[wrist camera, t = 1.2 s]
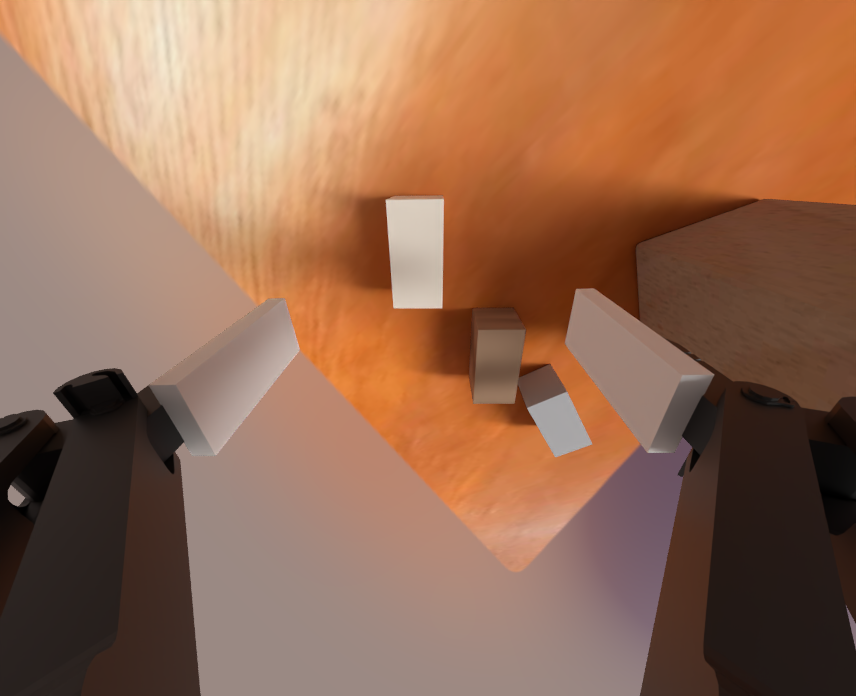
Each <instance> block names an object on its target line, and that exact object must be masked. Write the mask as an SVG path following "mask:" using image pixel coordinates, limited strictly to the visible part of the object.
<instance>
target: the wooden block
mask: <svg viewBox="0 0 856 696" xmlns="http://www.w3.org/2000/svg"><path fill="white" fill-rule="evenodd" d="M636 262H637V279H638V296H639V313H640V322H642V323H643V324H644V325H646V326H647V327H649V328H650V329H651V330H653V331H654V332H656V333H657V334H658V335H660V336H661V337H664V338H666V339H669V340H671V341H673V342H676V343H678V344H680V345H681V346H683V347H684V348H686V349H687V350H689V351H690V352H691V354H694V355H696V356H697V357H699V358H700V359H701V361H704V362H706V363H707V364H709V365H710V366H712V367H713V368H714V369H716V370H717V371H719V372H720V373H722V374H723V375H725V376H726V377H727V378H729V379H730V380H732V381H733V382H734V381H747V382H752V383H757V384H762V385H765V386H768V387H771V388H774V389H776V390H778V391H780V392H783V393H785V394H787V395H788V396H790V397H791V398H793V399H794V400H795V401H797V402H798V404H799V405H800V407H802V408H808V409H814V410H821V411H827V412H830V411H831V410H832V408H833V407H834V406H835V405H836V403H837V402H838V401H839V400H840V399H841V398H842V397H851V396H853V397H856V205H847V204H833V203H818V202H804V201H789V200H775V199H763V200H760V201H757V202H754V203H752V204H749V205H746V206H743V207H740V208H737V209H735V210H732V211H729V212H726V213H723V214H720V215H718V216H715V217H712V218H709V219H706V220H703V221H700V222H698V223H695V224H692V225H689V226H686V227H683V228H681V229H678V230H675V231H672V232H669V233H666V234H663V235H661V236H658V237H655V238H652V239H649V240H646V241H644V242H641V243H639V244H637V246H636Z"/></svg>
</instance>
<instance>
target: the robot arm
mask: <svg viewBox="0 0 856 696" xmlns="http://www.w3.org/2000/svg"><path fill="white" fill-rule="evenodd" d="M565 345H566V346H567V347H568V349H569V350H570V351H571V353H572V354H573V355H574V357H575V358H576V359H577V361H578V362H579V363H580V364H581V366H582V367H583V368H584V370H585V371H586V372H587V374H588V375H589V376H590V378H591V379H592V380H593V382H594V383H595V384H596V386H597V387H598V388H599V390H600V391H601V392H602V393H603V395H604V396H605V397H606V399H607V400H608V401H609V403H610V404H611V405H612V407H613V408H614V409H615V411H616V412H617V413H618V415H619V416H620V417H621V419H622V420H623V421H624V422H625V424H626V425H627V426H628V428H629V429H630V430H631V432H632V433H633V434H634V436H635V437H636V438H637V440H638V441H639V442H640V444H641V445H642V446H643V448H644V449H645V450H646V451H647V453H674V452H675V451H676V448H677V447H678V445H679V443H680V441H681V439H682V437H683V438H684V439H685V440H686V441H687V442H688V443H689V444H690V445H691V446H692V449H691V451H690V453H689V455H688V457H687V459H686V460H685V462H684V464H683V466H682V468H681V469H680V471H679V473H678V475H679V476H681V477H683V481H682V486H681V491H680V496H679V501H678V507H677V512H676V517H675V522H674V527H673V532H672V537H671V542H670V547H669V552H668V557H667V562H666V568H665V572H664V577H663V582H662V588H661V592H660V597H659V602H658V607H657V613H656V618H655V623H654V628H653V633H652V638H651V643H650V648H649V653H648V658H647V663H646V668H645V673H644V678H643V683H642V689H641V693H640V696H856V649H855V644H854V640H853V636H852V632H851V627H850V622H849V618H848V614H847V609H846V606H847V608H848V610H849V612H850V613H851V615H852V617H853V619H854V621H855V623H856V397H853V396H851V397H842V398H841V399H840V400H839V401H838V402H837V403H836V405H835V406H834V407H833V408H832V410H831V411H830V412H827V411H821V410H814V409H808V408H802V407H800V405H799V404H798V402H797V401H795V400H794V399H793V398H791V397H790V396H788V395H787V394H785V393H783V392H780V391H778V390H776V389H774V388H771V387H768V386H765V385H762V384H757V383H752V382H747V381H734V382H733V381H732V380H730V379H729V378H727V377H726V376H725V375H723V374H722V373H720V372H719V371H717V370H716V369H714V368H713V367H712V366H710V365H709V364H707V363H706V362H704V361H701V359H700V358H699V357H697V356H696V355H694V354H691V352H690V351H689V350H687V349H686V348H684V347H683V346H681V345H680V344H678V343H676V342H673V341H671V340H669V339H666V338H664V337H661V336H660V335H658V334H657V333H656V332H654V331H653V330H651V329H650V328H649V327H647V326H646V325H644V324H643V323H642V322H640V321H639V320H637V319H636V318H635V317H633V316H632V315H630V314H629V313H628V312H626V311H625V310H624V309H622V308H621V307H619V306H618V305H617V304H615V303H614V302H612V301H611V300H610V299H608V298H607V297H605V296H604V295H603V294H601V293H600V292H598V291H597V290H596V289H594V288H588V289H576V292H575V297H574V302H573V306H572V311H571V316H570V321H569V326H568V331H567V336H566V340H565ZM299 351H300V349H299V345H298V342H297V338H296V335H295V331H294V328H293V325H292V321H291V318H290V314H289V311H288V307H287V304H286V301H285V298H275V299H267V300H266V301H265V302H263V303H262V304H261V305H259V306H258V307H256V308H255V309H254V310H252V311H251V312H249V313H248V314H247V315H245V316H244V317H243V318H241V319H240V320H238V321H237V322H236V323H234V324H233V325H232V326H230V327H229V328H227V329H226V330H224V331H223V332H222V333H220V334H219V335H218V336H216V337H215V338H213V339H212V340H211V341H209V342H208V343H206V344H205V345H204V346H202V347H201V348H199V349H198V350H197V351H195V352H194V353H193V354H191V355H190V356H188V357H187V358H186V359H184V360H183V361H181V362H180V363H179V364H177V365H176V366H174V367H173V368H172V369H170V370H169V371H167V372H166V373H165V374H163V375H162V376H161V377H159V378H158V379H156V380H155V381H154V382H152V383H151V384H149V385H148V386H147V387H146V388H144V389H143V390H141V391H140V392H139V393H136V391H135V390H134V388H133V387H132V385H131V384H130V382H129V381H128V379H127V378H126V376H125V375H124V373H123V372H122V370H121V369H115V368H114V369H104V370H99V371H95V372H91V373H89V374H85V375H82V376H79V377H77V378H75V379H73V380H70V381H68V382H66V383H65V384H64V385H62V386H60V387H58V389H56V390H55V391H54V392H53V394H54V395H55V396H56V397H57V398H58V400H59V401H60V402H61V403H62V404H63V406H64V407H65V408H66V409H67V410H68V412H69V413H70V414H71V415H72V417H73V418H74V419H73V420H68V421H63V422H58V423H54V422H53V421H52V419H51V418H50V417H49V416H48V415H47V414H46V413H45V412H44V411H43V410H32V411H26V412H22V413H19V414H12V415H9V416H6V417H4V418H1V419H0V696H201V695H200V685H199V674H198V662H197V651H196V640H195V627H194V616H193V604H192V593H191V581H190V570H189V557H188V547H187V534H186V523H185V511H184V499H183V488H182V476H181V465H180V459H179V457H178V456H177V454H176V453H175V451H176V450H177V449H178V448H179V446H181V444H182V443H183V442H184V443H185V445H186V446H187V448H188V450H189V451H190V453H191V455H192V456H216V454H218V452H219V451H220V450H221V448H222V447H223V446H224V445H225V443H226V442H227V441H228V440H229V438H230V437H231V436H232V435H233V433H234V432H235V431H236V430H237V428H238V427H239V426H240V425H241V423H242V422H243V421H244V420H245V418H246V417H247V416H248V415H249V413H250V412H251V411H252V410H253V408H254V407H255V406H256V405H257V403H258V402H259V401H260V399H261V398H262V397H263V396H264V394H265V393H266V392H267V391H268V390H269V388H270V387H271V386H272V384H273V383H274V382H275V381H276V379H277V378H278V377H279V376H280V374H281V373H282V372H283V371H284V369H285V368H286V367H287V366H288V364H289V363H290V362H291V361H292V359H293V358H294V357H295V356H296V354H297V353H298V352H299ZM683 475H684V476H683ZM10 485H12V486H13V487H14V488H15V489H16V490H18V492H20V493H21V494H22V495H23V496H24V497H25V499H24V501H23V502H22V503H21V504H20V505H19V506H18V507H17V506H15V505H13V504H12V503H10V502H9V500H8V489H9V487H10Z"/></svg>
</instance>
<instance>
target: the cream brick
mask: <svg viewBox="0 0 856 696" xmlns="http://www.w3.org/2000/svg"><path fill="white" fill-rule="evenodd" d="M386 211H387V224H388V238H389V252H390V266H391V280H392V293H393V307H394V308H442V301H443V225H444V198H443V195H429V196H393V197H391V198H389V199H386Z"/></svg>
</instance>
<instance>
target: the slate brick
mask: <svg viewBox="0 0 856 696" xmlns="http://www.w3.org/2000/svg"><path fill="white" fill-rule="evenodd" d="M518 386H519V389H520V391H521V394H522V397H523V399H524V402H525V404H526V407H527V409H528V411H529V412H530V414H531V416H532V418H533V419H534V421H535V423H536V425H537V426H538V428H539V430H540V432H541V433H542V435H543V437H544V438H545V440H546V442H547V444H548V445H549V447H550V449H551V451H552V452H553V454H554V456H555V457H558V456H561V455H563V454H566V453H569V452H572V451H575V450H578V449H580V448H583V447H586V446H589V445H592V443H591V440H590V438H589V436H588V434H587V432H586V430H585V428H584V426H583V424H582V422H581V420H580V418H579V415H578V413H577V411H576V409H575V407H574V405H573V403H572V401H571V399H570V397H569V395H568V393H567V391H566V389H565V387H564V386H563V384H562V382H561V381H560V379H559V377H558V376H557V374H556V372H555V371H554V369H553V367H552V366H551V364H549V365H546V366H544V367H542V368H540V369H537V370H535V371H533V372H531V373H528V374H526V375H524V376H521V377H519V379H518Z"/></svg>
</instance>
